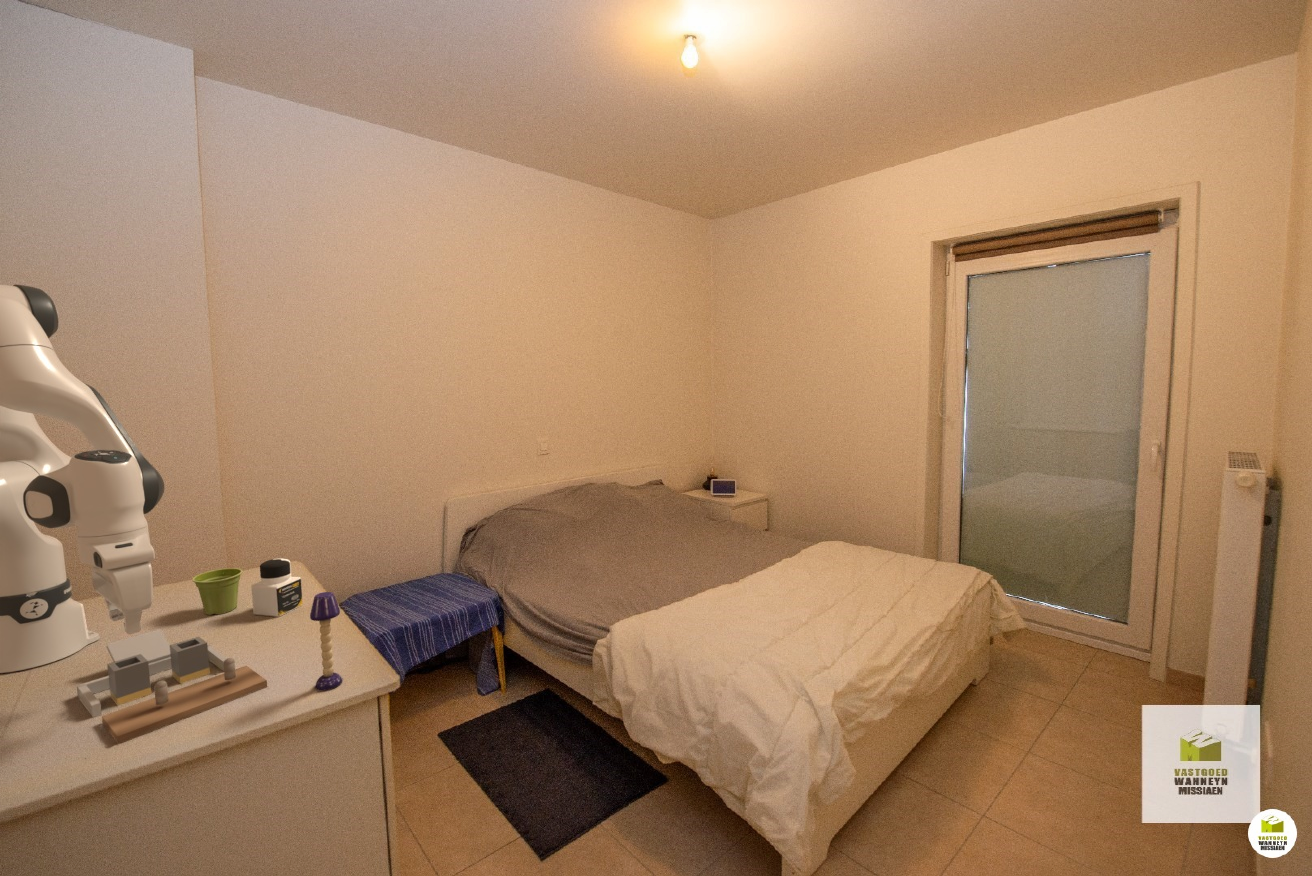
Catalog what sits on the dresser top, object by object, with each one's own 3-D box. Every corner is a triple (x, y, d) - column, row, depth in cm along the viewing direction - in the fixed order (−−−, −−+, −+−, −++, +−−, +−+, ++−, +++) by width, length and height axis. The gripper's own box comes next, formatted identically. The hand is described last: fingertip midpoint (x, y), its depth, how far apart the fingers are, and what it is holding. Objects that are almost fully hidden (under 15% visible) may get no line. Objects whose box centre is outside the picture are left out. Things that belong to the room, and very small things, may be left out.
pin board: (102, 723, 93) (99, 689, 92) (246, 671, 109) (244, 643, 109) (118, 743, 88) (114, 708, 87) (267, 686, 104) (265, 656, 103)
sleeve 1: (110, 696, 101) (107, 663, 100) (143, 685, 104) (140, 653, 104) (117, 705, 98) (114, 671, 98) (151, 693, 102) (148, 660, 101)
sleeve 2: (172, 676, 108) (169, 645, 107) (201, 666, 111) (198, 636, 110) (180, 683, 105) (177, 651, 104) (209, 673, 109) (207, 642, 108)
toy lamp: (310, 683, 105) (304, 594, 103) (338, 674, 108) (333, 587, 107) (320, 693, 102) (314, 601, 100) (348, 683, 105) (343, 594, 103)
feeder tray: (68, 683, 105) (64, 654, 105) (196, 643, 120) (194, 619, 120) (93, 717, 95) (89, 685, 94) (230, 669, 110) (228, 642, 109)
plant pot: (207, 621, 131) (204, 584, 130) (187, 613, 136) (184, 577, 135) (252, 607, 139) (250, 572, 139) (233, 599, 144) (230, 565, 143)
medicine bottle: (278, 617, 134) (275, 566, 132) (252, 614, 135) (248, 564, 134) (303, 605, 141) (300, 557, 139) (278, 603, 142) (274, 555, 141)
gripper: (75, 541, 102) (85, 618, 103) (105, 562, 90) (116, 647, 91) (123, 533, 107) (132, 606, 108) (157, 551, 95) (167, 632, 96)
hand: (125, 625), depth 100 cm, fingers open, 8 cm apart
